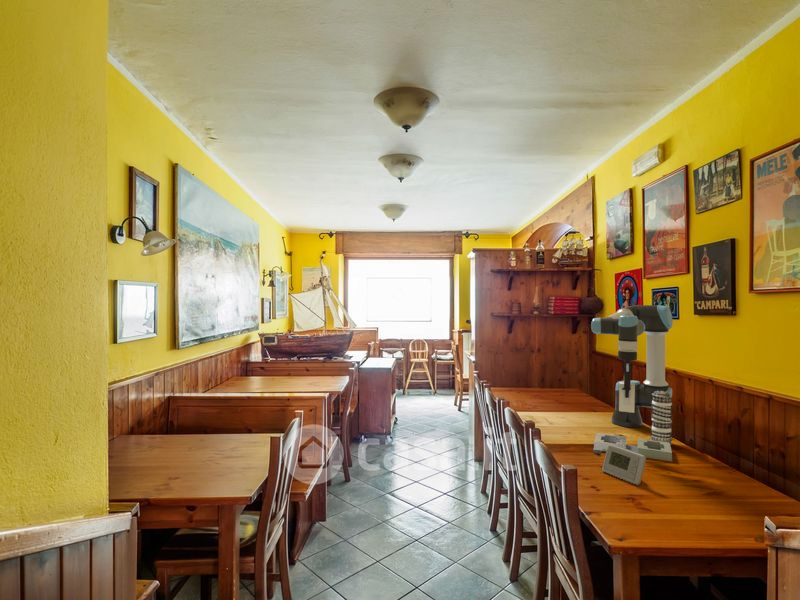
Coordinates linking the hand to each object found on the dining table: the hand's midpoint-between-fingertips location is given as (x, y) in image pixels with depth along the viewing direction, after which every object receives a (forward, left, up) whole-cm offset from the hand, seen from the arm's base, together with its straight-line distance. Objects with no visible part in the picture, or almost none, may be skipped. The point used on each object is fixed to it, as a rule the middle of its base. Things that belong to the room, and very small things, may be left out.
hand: (626, 403), depth 203 cm
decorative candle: (-24, +1, -22) cm, 32 cm away
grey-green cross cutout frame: (-6, +9, -20) cm, 23 cm away
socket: (+4, -5, -20) cm, 21 cm away
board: (-1, +2, -22) cm, 22 cm away
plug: (0, 0, -3) cm, 3 cm away
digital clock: (+27, +18, -22) cm, 39 cm away
